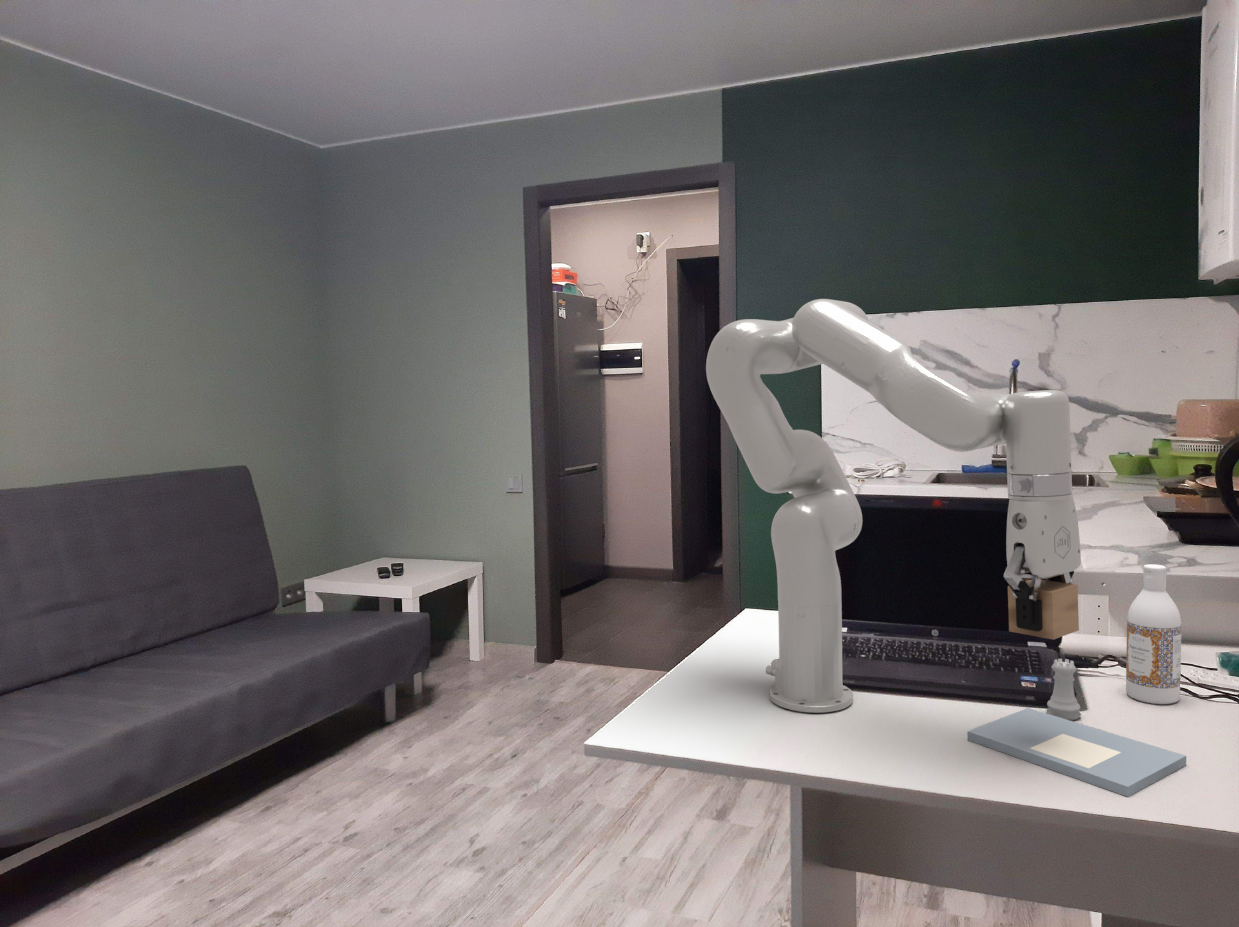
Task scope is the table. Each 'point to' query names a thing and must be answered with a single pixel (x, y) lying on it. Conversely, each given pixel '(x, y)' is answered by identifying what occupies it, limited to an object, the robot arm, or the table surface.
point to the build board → (1079, 750)
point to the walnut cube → (1051, 610)
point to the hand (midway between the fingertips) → (1043, 622)
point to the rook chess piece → (1063, 692)
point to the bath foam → (1153, 642)
